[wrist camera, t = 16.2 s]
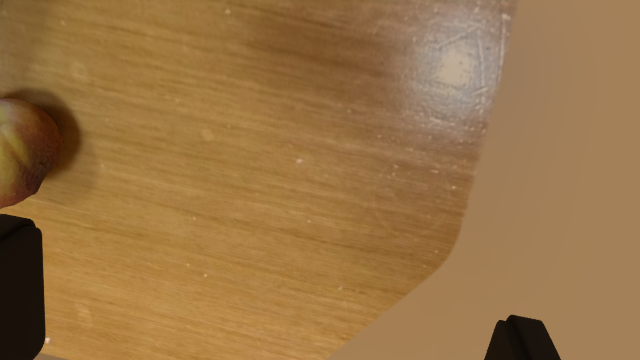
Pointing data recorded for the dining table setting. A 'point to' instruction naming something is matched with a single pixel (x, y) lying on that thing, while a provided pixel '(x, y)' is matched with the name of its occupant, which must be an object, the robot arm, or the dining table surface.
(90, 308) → the dining table surface
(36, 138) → the fruit
